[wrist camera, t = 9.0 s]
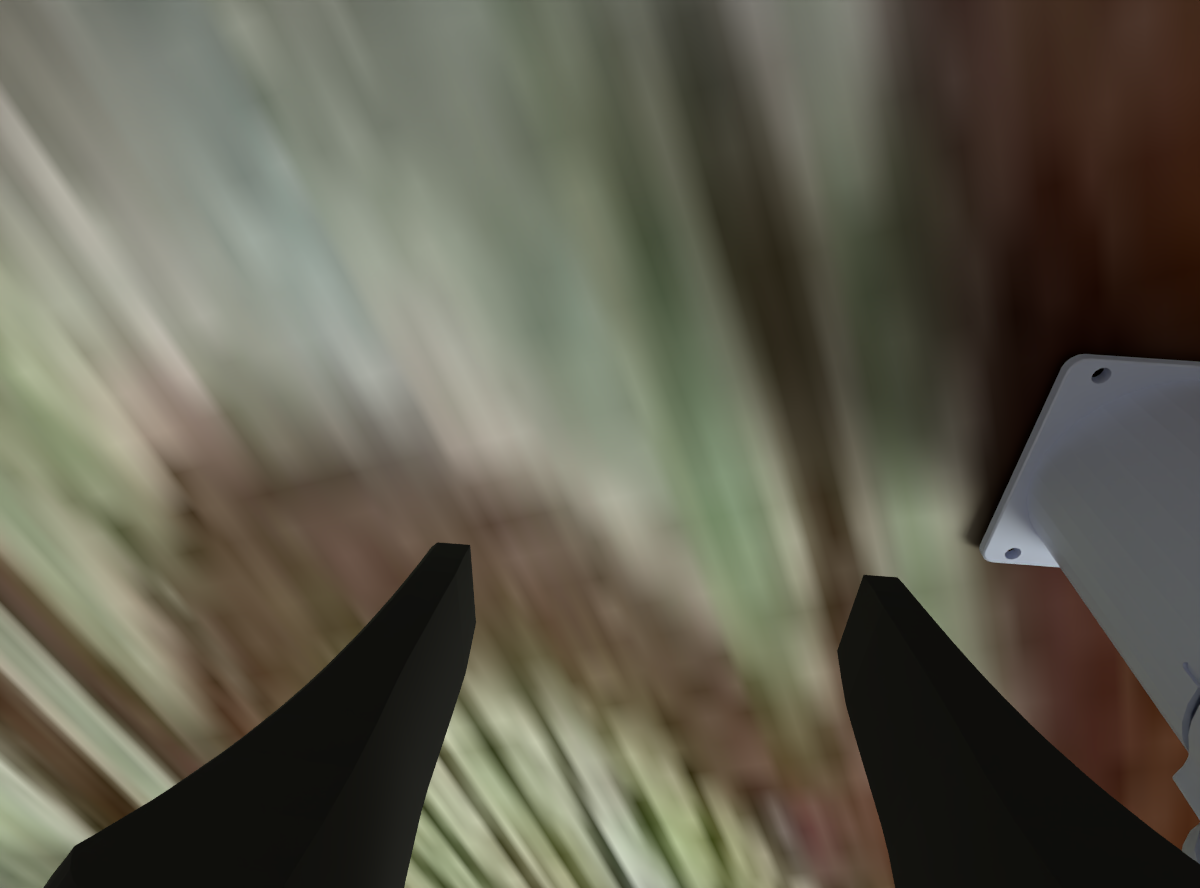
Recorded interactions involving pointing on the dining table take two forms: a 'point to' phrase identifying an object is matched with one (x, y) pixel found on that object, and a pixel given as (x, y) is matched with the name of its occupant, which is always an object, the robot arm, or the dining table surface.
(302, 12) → the dining table surface
